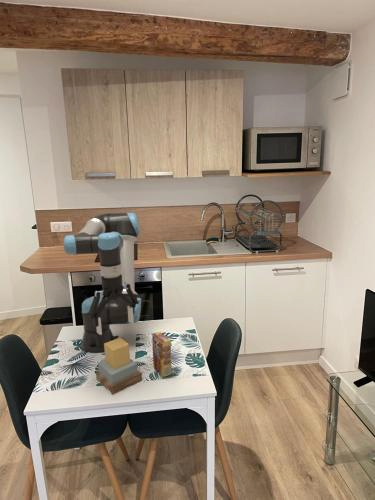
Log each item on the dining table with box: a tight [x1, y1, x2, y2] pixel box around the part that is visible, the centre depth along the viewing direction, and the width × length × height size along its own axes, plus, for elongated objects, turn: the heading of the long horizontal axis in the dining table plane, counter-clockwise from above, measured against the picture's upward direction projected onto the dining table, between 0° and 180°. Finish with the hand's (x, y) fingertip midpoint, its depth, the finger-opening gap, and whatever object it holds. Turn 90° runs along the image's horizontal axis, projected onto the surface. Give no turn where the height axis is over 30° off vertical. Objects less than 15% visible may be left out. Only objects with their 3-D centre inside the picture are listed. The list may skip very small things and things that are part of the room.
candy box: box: [151, 331, 172, 378], centre depth 144 cm, size 9×4×15 cm, turn 32°
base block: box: [95, 369, 143, 395], centre depth 140 cm, size 13×13×4 cm
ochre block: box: [104, 337, 131, 369], centre depth 138 cm, size 7×7×8 cm
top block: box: [97, 358, 138, 384], centre depth 139 cm, size 11×11×4 cm
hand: (115, 327), depth 136 cm, fingers open, 13 cm apart
